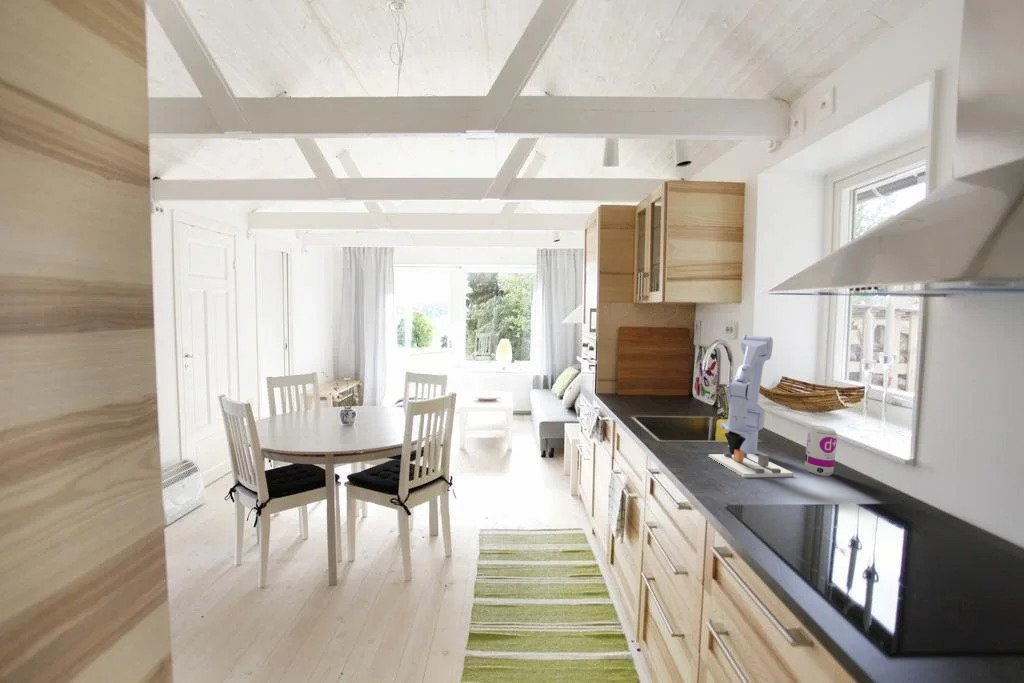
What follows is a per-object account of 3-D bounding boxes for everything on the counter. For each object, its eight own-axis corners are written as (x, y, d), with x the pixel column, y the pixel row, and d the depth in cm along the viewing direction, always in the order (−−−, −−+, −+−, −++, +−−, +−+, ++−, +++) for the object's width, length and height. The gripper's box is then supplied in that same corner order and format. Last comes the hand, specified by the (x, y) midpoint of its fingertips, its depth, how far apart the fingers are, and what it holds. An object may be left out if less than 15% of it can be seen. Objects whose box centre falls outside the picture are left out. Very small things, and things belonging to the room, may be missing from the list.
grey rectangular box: (757, 463, 158) (758, 453, 158) (763, 463, 159) (764, 453, 159) (762, 466, 156) (763, 455, 156) (768, 466, 157) (769, 455, 156)
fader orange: (733, 459, 162) (734, 449, 162) (738, 459, 162) (739, 449, 162) (738, 461, 159) (738, 451, 159) (743, 461, 160) (744, 451, 160)
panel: (708, 457, 168) (708, 451, 167) (752, 457, 171) (753, 450, 171) (743, 477, 149) (744, 470, 149) (792, 476, 152) (793, 469, 152)
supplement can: (838, 477, 154) (843, 432, 153) (813, 475, 154) (818, 431, 153) (822, 468, 162) (827, 426, 161) (798, 467, 162) (803, 424, 161)
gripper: (714, 410, 168) (711, 447, 169) (741, 421, 154) (737, 461, 155) (732, 411, 170) (728, 447, 171) (759, 421, 155) (756, 461, 157)
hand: (733, 454), depth 163 cm, fingers closed
